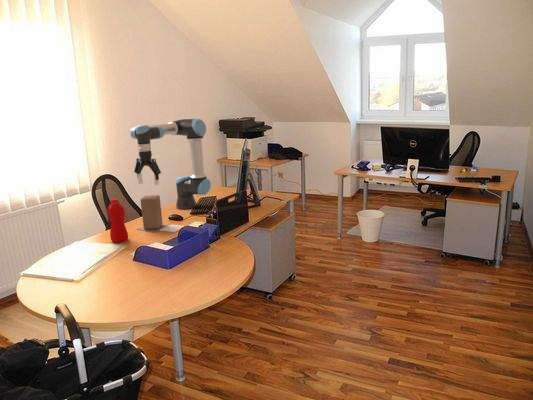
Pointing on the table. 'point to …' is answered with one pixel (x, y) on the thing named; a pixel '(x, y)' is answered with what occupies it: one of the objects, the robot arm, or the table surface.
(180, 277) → the table surface
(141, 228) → the tile
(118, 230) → the water bottle
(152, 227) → the block
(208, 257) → the table surface
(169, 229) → the mat
